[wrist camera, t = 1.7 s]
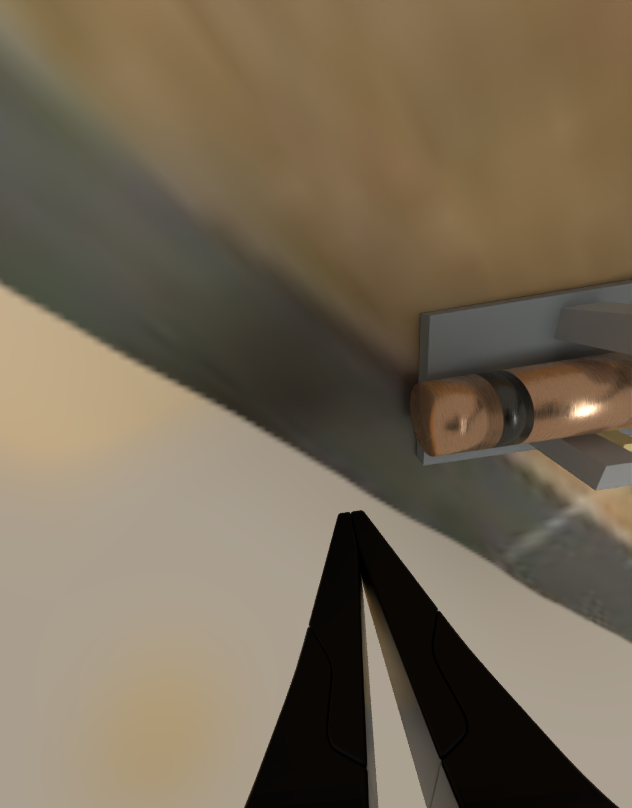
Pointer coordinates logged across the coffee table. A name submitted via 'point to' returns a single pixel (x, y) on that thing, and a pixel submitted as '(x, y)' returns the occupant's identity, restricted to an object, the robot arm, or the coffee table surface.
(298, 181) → the coffee table surface
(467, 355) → the board
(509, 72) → the coffee table surface
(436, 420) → the copper tube
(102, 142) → the coffee table surface
